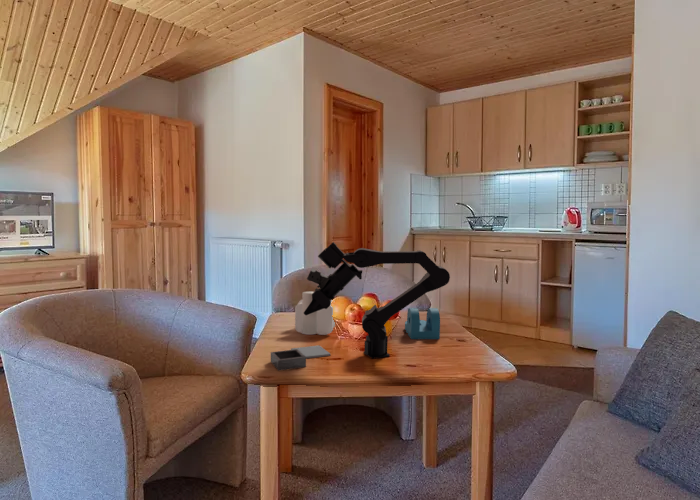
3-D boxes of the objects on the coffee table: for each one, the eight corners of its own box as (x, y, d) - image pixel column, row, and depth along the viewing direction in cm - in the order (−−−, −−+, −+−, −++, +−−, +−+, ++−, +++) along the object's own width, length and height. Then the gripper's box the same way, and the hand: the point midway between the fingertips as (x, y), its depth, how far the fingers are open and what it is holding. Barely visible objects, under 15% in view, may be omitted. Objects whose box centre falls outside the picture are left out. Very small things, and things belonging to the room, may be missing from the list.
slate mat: (319, 347, 158) (319, 345, 158) (330, 355, 149) (330, 353, 149) (290, 350, 154) (290, 348, 154) (300, 359, 145) (300, 357, 144)
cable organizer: (292, 334, 174) (292, 303, 173) (299, 327, 184) (299, 298, 184) (332, 335, 172) (332, 305, 171) (336, 328, 183) (337, 299, 182)
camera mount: (439, 339, 170) (440, 311, 169) (411, 339, 169) (411, 311, 168) (428, 327, 188) (429, 301, 187) (402, 327, 187) (403, 301, 186)
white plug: (317, 330, 153) (317, 291, 152) (317, 334, 148) (317, 294, 147) (302, 330, 152) (302, 291, 151) (301, 334, 148) (301, 294, 147)
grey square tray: (297, 358, 145) (297, 349, 145) (305, 366, 138) (306, 357, 137) (270, 361, 142) (270, 352, 142) (278, 370, 134) (278, 360, 134)
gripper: (324, 257, 157) (292, 289, 159) (319, 264, 139) (282, 300, 140) (348, 281, 158) (315, 312, 159) (345, 290, 139) (308, 326, 140)
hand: (305, 312), depth 150 cm, fingers closed on white plug, 5 cm apart
